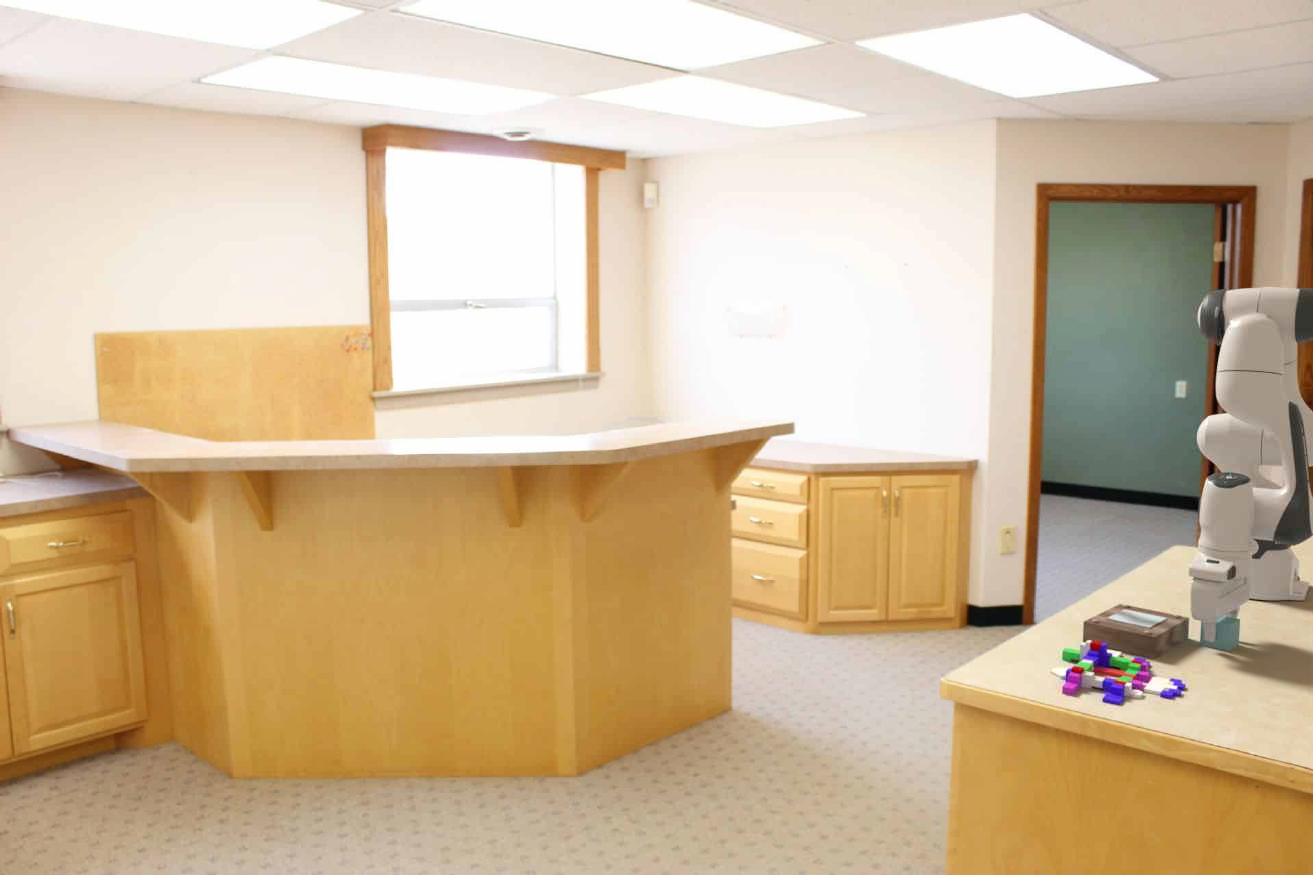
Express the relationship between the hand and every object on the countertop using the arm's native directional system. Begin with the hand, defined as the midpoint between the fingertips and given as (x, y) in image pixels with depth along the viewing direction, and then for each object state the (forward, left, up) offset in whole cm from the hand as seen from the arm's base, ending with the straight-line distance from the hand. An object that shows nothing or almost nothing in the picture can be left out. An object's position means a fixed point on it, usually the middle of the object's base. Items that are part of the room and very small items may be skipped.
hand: (1219, 634), depth 195 cm
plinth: (+8, -12, -2) cm, 15 cm away
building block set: (+30, -6, -3) cm, 31 cm away
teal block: (0, 0, -2) cm, 2 cm away
